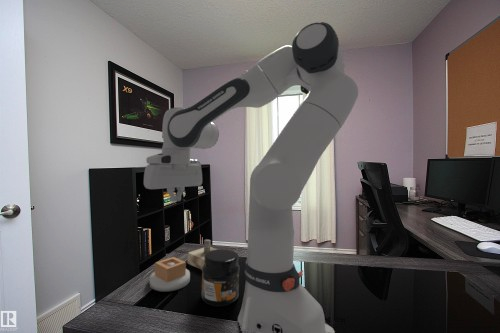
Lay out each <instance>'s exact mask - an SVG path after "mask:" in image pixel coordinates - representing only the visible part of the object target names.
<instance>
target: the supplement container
mask: <svg viewBox="0 0 500 333" xmlns="http://www.w3.org/2000/svg"><path fill="white" fill-rule="evenodd" d="M216 249H217V248H216ZM204 263H205V264H204V265H203V267H202V270H201V272H202V277H201V278H202V279H201V299H202V300H203V302H204V303H206V305H209V306H212V307H220V308H221V307H227V306H230V305H231V304H233V303H235V302H236V301H237V299H238V298H239V294H240V292H239V288H240V284H239V282H240V270H241V268H240V265H239V253H237V251H234V250H232V249H226V248H225V249H224V248H223V249H221V248H219V249H217V250H212V251H209V252H207V253H206V254H205V256H204Z"/></svg>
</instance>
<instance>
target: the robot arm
mask: <svg viewBox="0 0 500 333" xmlns="http://www.w3.org/2000/svg"><path fill="white" fill-rule="evenodd" d="M291 44H292V45H284V46H281V47H280V48H278V49H276V50H275V51H272V52H270V53H269V54H268V55H266V56H264V58H262V59H261V60H259V61H258V62H257V63H256V64H255V65H253V66H252V67H251V68H250V69H248V70H247V71H245V72H244V73H242V74H241V75H239V76H238V77H235V78H233V79H231V80H230V81H228V82H226V83H224V84H222V85H221V86H220V87H218V88H217V89H215V90H214V91H212V92H211V93H209V94H208V95H207V96H205V97H203V98H202V99H201V100H199V101H198V102H196V103H195V104H194V105H191V106H190V107H187V108H186V107H185V108H184V107H172V108H169V109H167V110H166V111H165V113H164V115H163V119H162V129H161V130H162V131H161V133H162V134H161V136H162V142H163V144H162V147H161V152H159V153H157V154H154V155H149V156H148V157H146V163H147V165H146V166H145V169H144V173H143V186H144V188H145V189H148V190H160V189H161V190H162V189H166V192H167V194H168V195H169V201H170V202H171V203H175V202H181V201H182V195H183V193H184V192H185V187H187V188H188V187H199V186H202V184H203V170H202V164H201V162H200V161H199V160H198V159H191V148H192V149H202V150H207V149H210V148H212V147H214V146H215V145H216V144H217V142H218V140H219V137H220V136H219V135H220V131H219V128H218V126H217V124H215V123H214V121H216V120H218V119H219V118H220V117H222V116H223V115H225V114H226V113H228V112H229V111H231V110H234V109H237V108H255V109H256V108H262V107H264V106H266V105H268V104H270V103H271V102H273V101H274V100H276V99H277V98H278V97H279V96H281V95H282V94H283V93H284V92H286V91H287V90H288V89H290V88H291V87H294V86H300V91H301V93H303V94H305V95H306V96H305V98H304V99H303V100H302V102H301V103H300V105H299V106H298V107H297V109H296V110H295V111H294V113H293V115H292V116H291V118H290V119H289V120H288V121H287V123H286V124H285V126H284V127H283V129H282V130H281V131H280V133H279V134H278V135H277V137H276V139H275V140H274V142H273V143H272V145H271V146H270V148H269V149H268V150H267V152H266V153H265V155H264V156H263V158H262V159H261V160H260V162H259V164H257V165H256V166H255V167H254V169H253V170H252V172H251V174H250V178H249V200H248V201H249V202H248V203H249V204H248V224H247V225H248V227H247V251H246V253H247V254H246V260H245V264H244V279H245V285H244V293H243V298H242V304H241V308H240V311H239V314H238V316H237V323H238V322H239V323H240V324H241V326H242V329H250V330H254V331H259V332H263V333H335V332H336V331H335V330H334V328H333V327H332V326H330V325H329V324H328V323H326V320H325V319H326V318H325V314H324V310H323V307H322V305H321V304H320V303H319V302H318V301H317V300H316V298H314V297H313V295H312V294H311V293H310V292H309V291H308V290H307V289H306V288H305V287H304V286H303V285H302V284H301V282H300V280H301V279H300V278H301V277H302V276H303V275H304V274H303V272H304V270H300V271H299V272H298V270H297V268H296V266H295V264H294V252H295V250H294V248H295V245H294V244H295V229H294V228H295V227H294V219H293V218H294V217H293V216H294V215H293V206H294V205H295V204H296V203H297V202H298V200H300V197H301V194H302V192H303V190H304V188H305V187H306V184H308V181H309V180H310V178H311V176H312V173H314V170H315V168H316V166H317V164H318V162H319V160H320V159H321V157H322V155H323V153H324V152H325V151H326V150H327V148H328V147H329V145H330V144H331V142H332V141H333V140H334V139H335V137H336V136H337V134H338V132H339V131H340V130H341V128H342V127H343V125H344V124H345V122H346V121H347V119H348V118H349V115H350V114H351V112H352V110H353V108H354V106H355V104H356V103H357V100H358V96H359V87H358V84H357V83H356V81H355V80H354V79H353V78H352V77H351V76H349V75H347V74H345V65H344V56H343V53H342V48H341V46H340V41H339V37H338V35H337V32H336V30H335V29H334V28H333V26H332V25H330V24H329V23H328V22H324V21H317V22H312V23H310V24H307V25H306V26H304V27H303V28H302V29H301V30H299V31H298V32H297V33H296V35H295V36H294V39H293V40H292V43H291ZM176 190H177V192H176V193H174V192H175V191H176Z"/></svg>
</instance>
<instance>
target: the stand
mask: <svg viewBox="0 0 500 333" xmlns="http://www.w3.org/2000/svg"><path fill="white" fill-rule="evenodd" d="M211 241H212V240H211V239H204V240H203V247H202V248H197V249H194V250H192V251H189V252H187V261H186V264H188V265H189V266H192V267H194V268H196V269H199V270H201V271H202V267H203V265H204V264H205V263H204V256H205V254H206V253H207V252H209V251H212V250H217V248H215V247H211Z"/></svg>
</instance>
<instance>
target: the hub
mask: <svg viewBox="0 0 500 333" xmlns="http://www.w3.org/2000/svg"><path fill="white" fill-rule="evenodd" d="M174 264H175V263H173V262H170V263H167V266H172V265H174ZM190 281H191V272H190V270H189V269H187V268H186V274H185V275H184V276H181V277H179V278H177V279H174V280H172V281H169V282H165V281H164V280H162V279H160V278H158V277H157V276H155V271H154V272H152V273H151V274H150V275H149V287H150V288H151V289H152V290H154V291H157V292H173V291H177V290H180V289H182V288H184V287H186V286H187V285H188V284H189V283H190Z"/></svg>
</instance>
